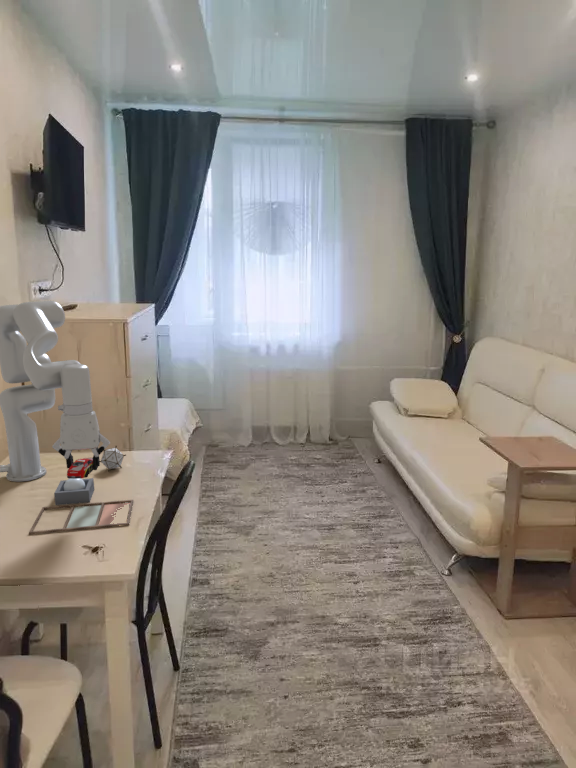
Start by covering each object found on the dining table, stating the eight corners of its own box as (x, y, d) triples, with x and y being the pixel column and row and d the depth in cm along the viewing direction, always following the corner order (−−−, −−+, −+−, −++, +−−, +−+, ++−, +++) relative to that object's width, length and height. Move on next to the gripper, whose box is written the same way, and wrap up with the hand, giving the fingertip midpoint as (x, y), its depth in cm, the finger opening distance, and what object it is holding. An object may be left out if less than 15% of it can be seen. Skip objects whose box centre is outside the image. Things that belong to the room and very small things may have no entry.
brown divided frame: (28, 534, 149) (28, 532, 149) (42, 509, 164) (42, 507, 164) (129, 525, 154) (129, 523, 154) (133, 501, 169) (133, 499, 169)
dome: (62, 501, 169) (60, 482, 167) (66, 493, 175) (64, 474, 174) (84, 499, 170) (82, 480, 169) (87, 491, 176) (86, 473, 175)
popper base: (55, 505, 167) (54, 493, 166) (61, 492, 176) (60, 480, 175) (89, 502, 169) (88, 490, 168) (94, 489, 178) (93, 478, 177)
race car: (84, 464, 163) (83, 451, 162) (102, 464, 163) (101, 451, 162) (63, 481, 150) (62, 467, 149) (82, 481, 150) (81, 467, 149)
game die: (108, 479, 196) (88, 460, 193) (120, 464, 203) (101, 445, 200) (123, 472, 191) (103, 452, 188) (135, 456, 198) (116, 436, 195)
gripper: (42, 413, 147) (48, 476, 151) (108, 410, 150) (113, 472, 154) (48, 406, 154) (55, 466, 158) (112, 403, 157) (116, 462, 161)
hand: (83, 469), depth 156 cm, fingers closed on race car, 6 cm apart
